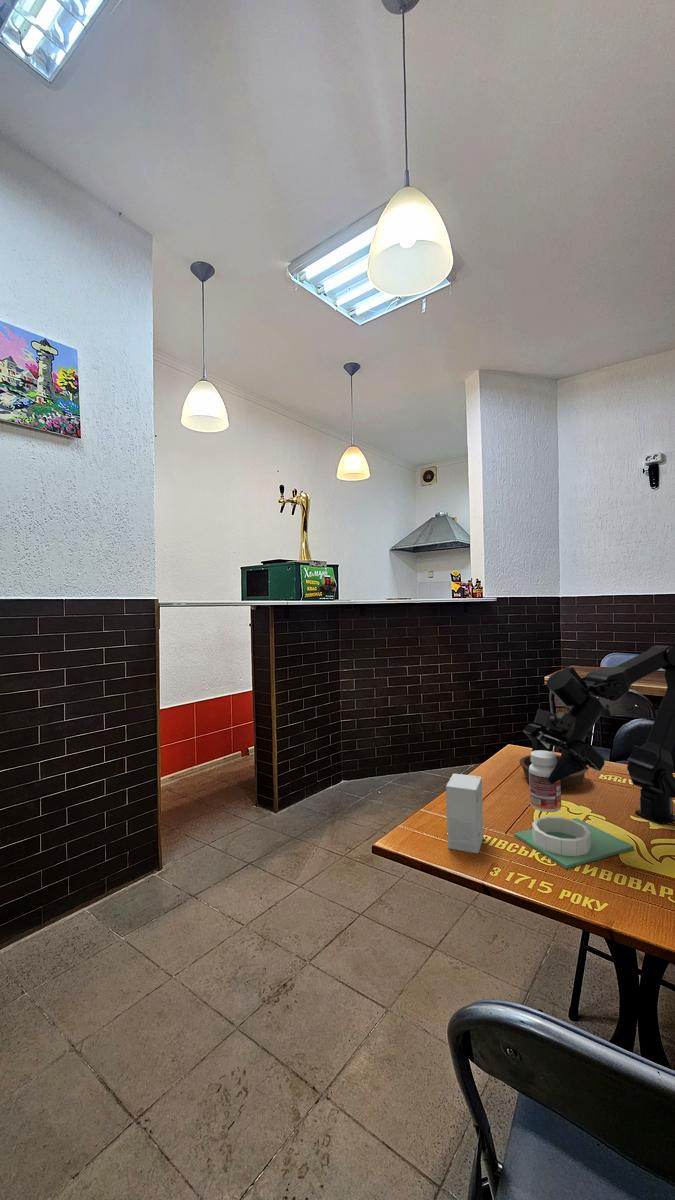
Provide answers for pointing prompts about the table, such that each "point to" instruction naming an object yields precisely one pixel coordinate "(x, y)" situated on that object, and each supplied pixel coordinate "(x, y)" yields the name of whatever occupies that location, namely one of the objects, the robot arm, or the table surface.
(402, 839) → the table surface
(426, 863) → the table surface
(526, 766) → the dish
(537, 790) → the pill bottle
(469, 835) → the small box
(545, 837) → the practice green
